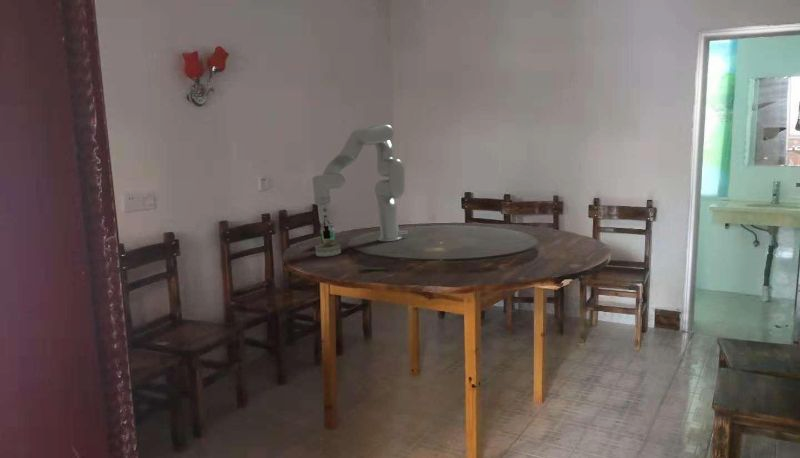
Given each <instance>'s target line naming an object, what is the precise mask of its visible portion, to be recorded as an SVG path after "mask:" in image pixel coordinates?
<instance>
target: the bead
mask: <svg viewBox="0 0 800 458" xmlns="http://www.w3.org/2000/svg"><path fill="white" fill-rule="evenodd" d="M341 247H342V246H341V243H337V242H335V243H331V246H330V247H323V244H322V243H321V244H318V245H316V246H315V247H314V248H315V255H316V256H317V257H332V256H336V255H340V254H341V253H342V248H341Z"/></svg>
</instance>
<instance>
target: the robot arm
mask: <svg viewBox="0 0 800 458" xmlns="http://www.w3.org/2000/svg"><path fill="white" fill-rule="evenodd" d="M393 136H394V129H393V127H392V126H391V125H390V124H388V123H381V124H372V125H369V126H368V127H365V128H364V127H363V128H356V129H354V130H353V131H352V132H351V133H350V134H349V137H348V138H347V139H346V141H345V143H344V145H343V147H342V149H341V151H340V152H339V153H338V154H337V155H336V156H335V157H334V158H333V159H332V160H331V161H330V162H329V163H328V164H327V165H326V167H325V169H324V170H323V172H322V174H321V175H320V174H319V175H314V176H313V177H312V180H311V181H312V189H313V197H314V198H313V199H314V205H317V210H318V211H317V212H318V219H319V223H320V225H321V224H322V225H323V230H324V231H323V235H324V239H329V238H330V230H329V225H331V224H332V216H331V208H330V204H331V194H330V190H331V189H333V190H335V189H341V188H342V187H344V185H345V183H346V177H345V176H344V175H343V174H342V173H340V172H342V171H343V170H344V169H345V168H347V167H349V166H351V165H352V164H353V163H355V162H356V161H357V159H358V157H359V155H360V153H361V151H362V150H363V148H364V147H365V146H372V145H374V146H375V149H376V156H377V158H376V162H377V163H376V164H377V165H376V168H377V171H376V172H377V174H378V175H379V176H381V177H384V178H388V179H381V180H378V181H377V182H376V183H375V185H374V193H375V194H374V195H375V198H376V200H377V201H376V202H377V207H378V217H379V218H378V219H379V228H380V236H379V237H378V238H377V239H378V241H379V242H394V241H395V242H396V241H400V240H402V239H403V235H408V234H409V231H408V229H407V230H400V229H399V220H398V209H397V208H398V207H397V203H396V200H395V199H400V198H402V196H403V195H404V193H405V189H406V188H405V187H406V186H405V185H406V184H405V181H406V180H405V179H406V178H405V177H406V176H405V175H406V173H405V172H406V171H405V166H404V163H403V161H402V160H401V159H399V158H396V157H395V156H394V147H393V144H392V142H391V140H392V138H393ZM394 157H395V158H394ZM328 221H329V223H328ZM324 223H325V224H324ZM324 226H325V227H324Z"/></svg>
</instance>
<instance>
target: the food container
mask: <svg viewBox="0 0 800 458" xmlns="http://www.w3.org/2000/svg"><path fill="white" fill-rule="evenodd" d="M329 227H330V236H331V243H336V242H335V241H336V240H335V232H336V228H335V226H334V225H331V224H329ZM319 234H320V240H321V245H322V244H323V239H322V230H321V228H320V229H319Z"/></svg>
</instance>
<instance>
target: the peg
mask: <svg viewBox="0 0 800 458" xmlns="http://www.w3.org/2000/svg"><path fill="white" fill-rule="evenodd" d="M328 223H329V221H328ZM324 224H325V223H324ZM329 224H330V223H329ZM324 227H325V226H324ZM320 229H321V230H322V239H323V247H330V246H331V236H330V238H329V239H324V235H323V231H324V230H323V225H322V224H321V223H320ZM329 230H330V227H329Z"/></svg>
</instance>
